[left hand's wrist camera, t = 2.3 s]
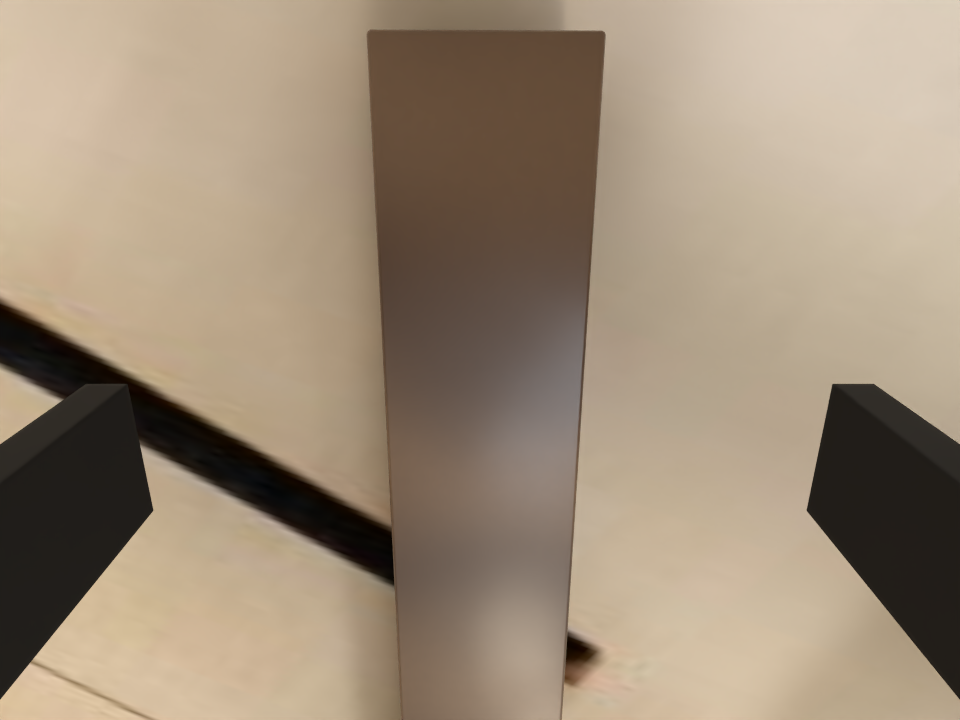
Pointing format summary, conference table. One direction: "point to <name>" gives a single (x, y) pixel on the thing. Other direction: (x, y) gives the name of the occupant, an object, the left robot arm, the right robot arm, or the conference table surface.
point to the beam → (484, 352)
